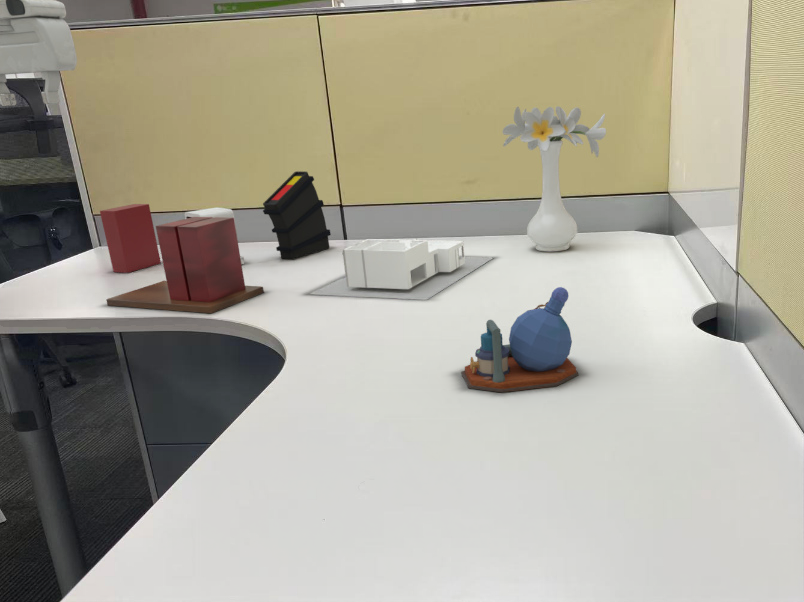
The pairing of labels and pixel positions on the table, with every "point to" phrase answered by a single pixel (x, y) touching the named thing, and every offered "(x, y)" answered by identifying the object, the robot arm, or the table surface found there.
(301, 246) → the magazine
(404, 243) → the house
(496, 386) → the model
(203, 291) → the book rack
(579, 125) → the flower vase
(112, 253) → the book
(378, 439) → the table surface
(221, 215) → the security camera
